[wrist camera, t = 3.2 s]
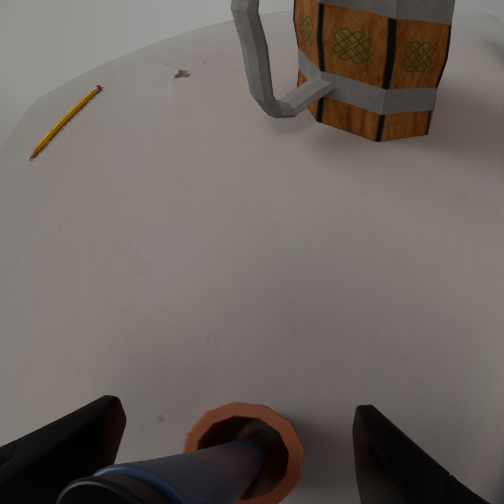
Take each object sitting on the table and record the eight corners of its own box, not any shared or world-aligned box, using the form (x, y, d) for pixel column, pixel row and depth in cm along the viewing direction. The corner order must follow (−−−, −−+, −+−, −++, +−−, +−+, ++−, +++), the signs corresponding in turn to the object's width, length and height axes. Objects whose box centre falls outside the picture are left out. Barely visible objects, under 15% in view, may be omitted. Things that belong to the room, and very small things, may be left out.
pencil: (102, 89, 33) (100, 85, 33) (30, 163, 28) (27, 159, 27) (98, 89, 34) (96, 85, 33) (27, 162, 28) (24, 158, 27)
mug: (358, 56, 31) (361, -60, 18) (458, 112, 24) (491, -22, 11) (210, 116, 26) (171, -45, 13) (320, 208, 20) (328, -48, 7)
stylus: (275, 456, 12) (208, 591, 1) (246, 467, 12) (79, 591, 1) (263, 431, 13) (140, 455, 2) (235, 441, 13) (28, 473, 2)
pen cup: (311, 467, 12) (322, 486, 8) (233, 496, 12) (209, 524, 8) (278, 397, 14) (274, 385, 10) (202, 426, 14) (166, 424, 10)
